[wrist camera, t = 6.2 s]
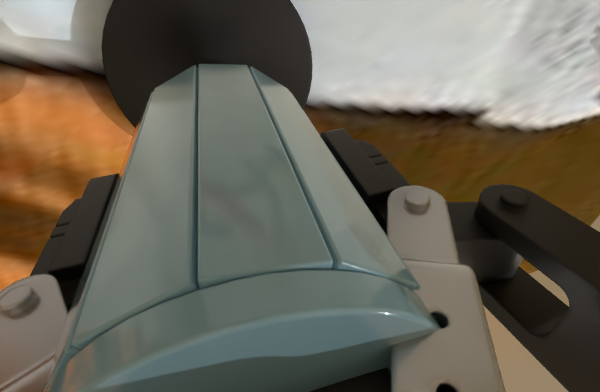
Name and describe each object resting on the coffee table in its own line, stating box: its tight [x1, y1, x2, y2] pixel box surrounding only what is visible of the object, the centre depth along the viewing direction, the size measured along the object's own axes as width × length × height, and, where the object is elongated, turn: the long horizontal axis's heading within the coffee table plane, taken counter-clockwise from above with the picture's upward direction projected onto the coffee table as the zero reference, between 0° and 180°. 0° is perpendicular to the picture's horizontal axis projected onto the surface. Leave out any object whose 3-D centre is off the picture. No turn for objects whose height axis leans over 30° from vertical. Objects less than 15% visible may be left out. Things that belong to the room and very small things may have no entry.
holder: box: [102, 0, 312, 128], centre depth 14 cm, size 12×12×17 cm
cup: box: [42, 64, 443, 392], centre depth 8 cm, size 6×6×9 cm
